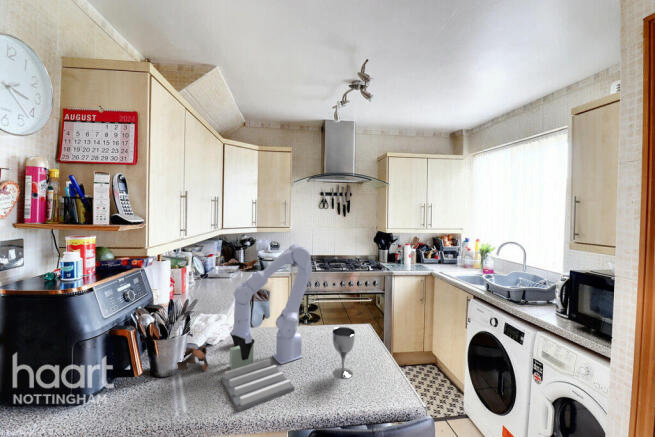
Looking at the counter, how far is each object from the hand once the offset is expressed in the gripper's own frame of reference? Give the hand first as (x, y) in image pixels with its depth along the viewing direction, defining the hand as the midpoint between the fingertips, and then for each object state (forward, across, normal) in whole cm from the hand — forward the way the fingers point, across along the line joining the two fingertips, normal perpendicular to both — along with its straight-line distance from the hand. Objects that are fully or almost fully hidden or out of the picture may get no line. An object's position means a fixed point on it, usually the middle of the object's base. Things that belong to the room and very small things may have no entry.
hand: (241, 354), depth 106 cm
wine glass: (+4, +25, +28) cm, 38 cm away
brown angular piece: (+4, -7, -14) cm, 17 cm away
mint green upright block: (+4, 0, 0) cm, 4 cm away
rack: (+4, +15, 0) cm, 15 cm away
